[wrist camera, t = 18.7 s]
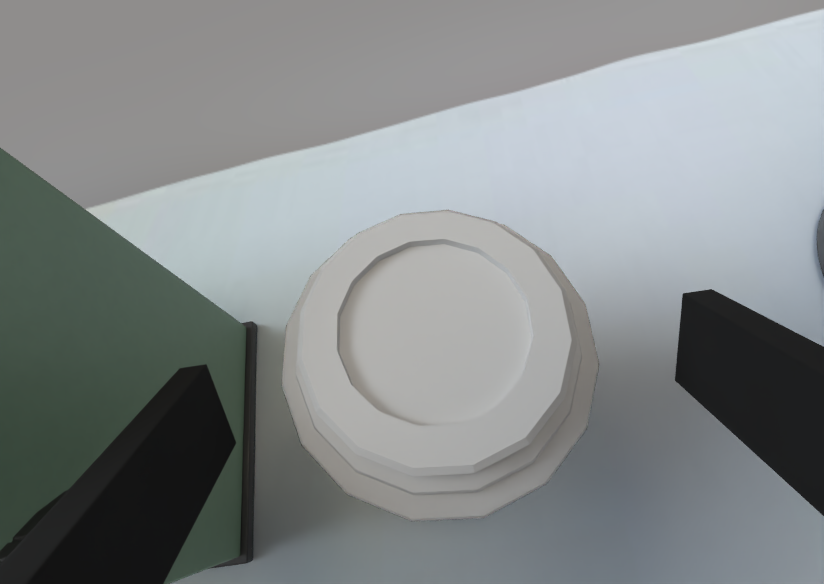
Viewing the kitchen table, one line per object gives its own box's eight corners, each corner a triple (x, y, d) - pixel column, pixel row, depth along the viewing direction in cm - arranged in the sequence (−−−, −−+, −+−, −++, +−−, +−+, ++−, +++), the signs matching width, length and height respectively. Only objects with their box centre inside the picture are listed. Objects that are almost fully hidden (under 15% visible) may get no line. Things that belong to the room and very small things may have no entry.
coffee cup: (535, 327, 23) (617, 187, 12) (529, 517, 19) (635, 571, 8) (370, 308, 24) (303, 166, 13) (335, 484, 20) (202, 493, 9)
